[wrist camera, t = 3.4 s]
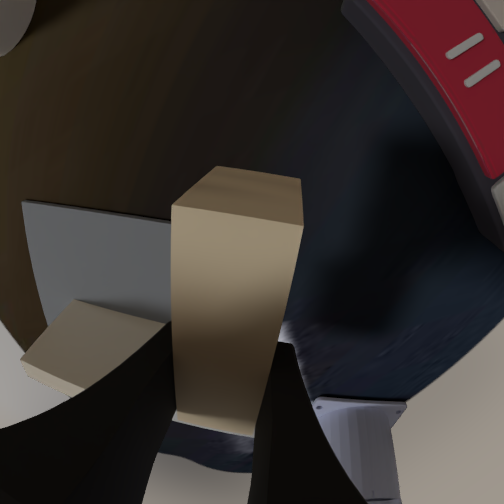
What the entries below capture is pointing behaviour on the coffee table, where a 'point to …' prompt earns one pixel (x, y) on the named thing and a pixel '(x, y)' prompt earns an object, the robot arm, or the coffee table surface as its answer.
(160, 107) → the coffee table surface
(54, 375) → the tile
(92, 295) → the mat
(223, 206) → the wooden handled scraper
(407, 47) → the calculator
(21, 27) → the candle
